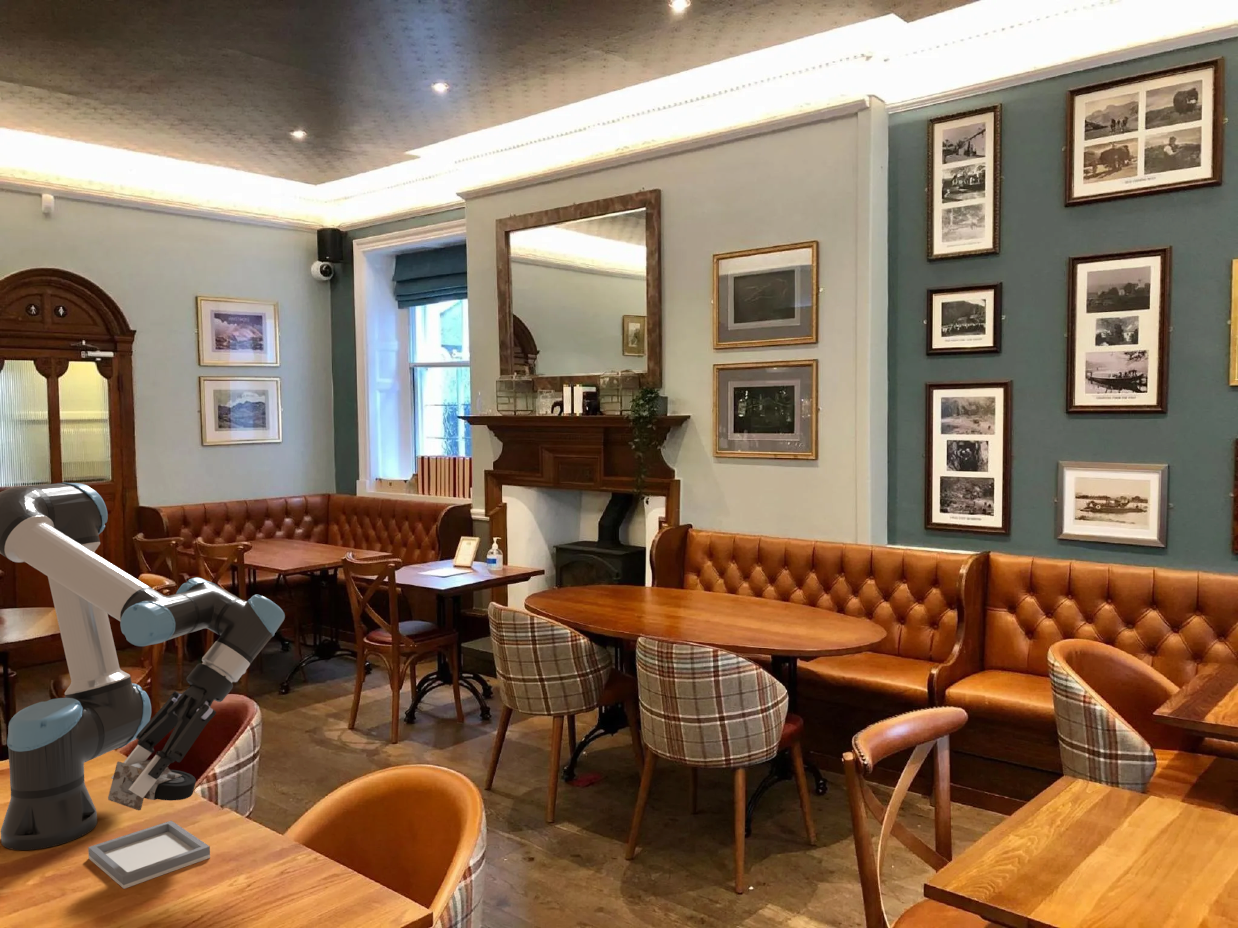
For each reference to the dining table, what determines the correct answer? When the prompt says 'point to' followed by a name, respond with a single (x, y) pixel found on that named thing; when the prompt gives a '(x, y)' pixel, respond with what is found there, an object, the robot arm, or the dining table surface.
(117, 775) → the caster wheel
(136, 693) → the robot arm
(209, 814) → the dining table surface
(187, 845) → the shallow rectangular tray
